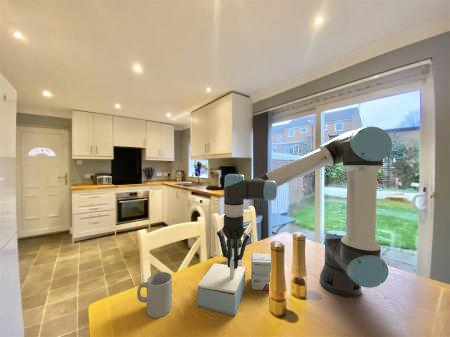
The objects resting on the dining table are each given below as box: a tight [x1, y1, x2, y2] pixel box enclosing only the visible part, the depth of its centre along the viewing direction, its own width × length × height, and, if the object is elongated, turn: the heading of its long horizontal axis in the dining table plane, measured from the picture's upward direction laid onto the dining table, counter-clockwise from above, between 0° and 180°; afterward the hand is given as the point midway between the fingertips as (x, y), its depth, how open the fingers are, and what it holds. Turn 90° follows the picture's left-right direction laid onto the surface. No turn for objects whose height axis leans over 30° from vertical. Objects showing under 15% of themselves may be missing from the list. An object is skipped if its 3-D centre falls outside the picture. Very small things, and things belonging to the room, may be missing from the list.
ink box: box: [250, 252, 272, 291], centre depth 83 cm, size 9×9×12 cm
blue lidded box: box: [197, 271, 246, 317], centre depth 75 cm, size 14×16×7 cm
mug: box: [136, 271, 173, 319], centre depth 68 cm, size 12×8×11 cm
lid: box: [197, 263, 247, 293], centre depth 75 cm, size 14×16×1 cm
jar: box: [225, 238, 243, 266], centre depth 101 cm, size 9×8×12 cm
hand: (232, 275), depth 74 cm, fingers closed
